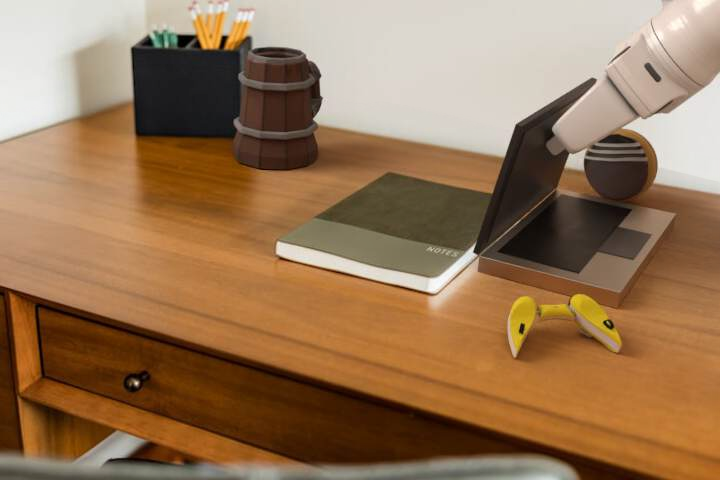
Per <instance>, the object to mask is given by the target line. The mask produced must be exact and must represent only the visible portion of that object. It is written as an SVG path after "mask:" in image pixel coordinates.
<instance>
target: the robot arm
mask: <svg viewBox="0 0 720 480" xmlns="http://www.w3.org/2000/svg"><path fill="white" fill-rule="evenodd" d="M660 1H661V3H662V7H661V11H659V13H657V14H655V15H654V16H653V17H651V18H650V19H649V20H647V21H646V22H645V23H644V24H642V25H641V26H640V27H638V28H637V29H636V30H635V31H634V32H632V33H631V34H630V35H629V36H627V37H626V38H625V39H624V40H622V41H621V42H620V43H618V44H617V45H616V46H615V49H614V55H613V57H612V59H611V61H610V62H609V63H607V65H606V66H605V67H604V72H605V73H604V74H603V75H602V76H601V77H600V78H599V79H598V80H597V81H596V84H595V85H593V86H592V87H591V88H590V89H589V90H588V91H587V92H586V93H585V94H584V95H583V96H582V97H581V98H580V99H579V100H578V101H577V102H576V103H575V104H574V105H573V106H572V107H571V108H570V109H569V110H568V111H566V112H565V113H564V114H563V116H562V117H561V118H560V119H559V120H558V121H557V122H556V123H555V124H554V126H553V128H552V131H553V133H554V134H555V136H554V137H553V138H551V139H550V140H549V141H548V142H547V143H546V147H547V148H548V150H549V151H550V152H551V154H553V155H557V154H559V153H560V152H562V151H563V150H564V149H566V150H567V151H568V152H569V153H570V154H571V155H574V154H575V155H576V154H577V153H580V152H583V151H584V150H587V148H588V147H590V146H592V145H593V144H595V143H597V142H598V141H600V140H602V139H604V138H605V137H607V136H609V135H610V134H612V133H614V132H615V131H617V130H619V129H621V128H622V129H623V128H624V127H625V126H628V125H629V124H630V123H631V124H632V123H633V122H634V121H636V120H638V119H640V118H641V119H642V120H647V119H648V118H651V117H653V116H655V115H658V114H659V115H660V114H665V115H666V114H667V115H668V114H670V113H672V112H673V111H674V110H676V109H677V108H678V107H679V106H681V105H682V104H684V103H685V102H687V101H688V100H689V99H691V98H692V97H694V96H695V95H697V94H698V93H700V92H701V91H703V90H704V89H705V88H706V87H708V86H709V85H710V84H711V83H712V82H713V81H714V80H715V78H717V76H718V75H719V74H720V0H660ZM570 154H569V155H570Z"/></svg>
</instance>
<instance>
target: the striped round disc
mask: <svg viewBox="0 0 720 480" xmlns="http://www.w3.org/2000/svg"><path fill="white" fill-rule="evenodd" d="M658 163H659V162H658V157H657V153H656V151H655V149H654V147H653V145H652V143H651V142H650V141H649V140H648V139H647V138H646V137H645V136H644V135H643V134H642V133H640V132H637V131H635V130H633V129H628V128H623V127H622V128H621V129H619V130H617V131H615V132H614V133H612V134H610V135H609V136H607V137H605V138H604V139H602V140H600V141H598V142H597V143H595V144H593V145H592V146H590V147H588V148H586V149H585V153H584V156H583V172H584V175H585V178H586V180H587V183H588V184H589V186H590V187H591V189H592V190H593V191H594V192H595V193H596V194H598V195H599V196H600V197H601V198H605V199H610V200H614V201H619V202H624V203H626V202H630V201H633V200H636V199H637V198H639V197H640V196H642V195H643V194H644V193H645V192H647V191H648V190H649V189H650V188H651V187H652V185H653V184H654V182H655V180H656V177H657V174H658V170H659V169H658V168H659V164H658Z"/></svg>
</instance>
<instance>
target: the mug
mask: <svg viewBox="0 0 720 480" xmlns="http://www.w3.org/2000/svg"><path fill="white" fill-rule="evenodd" d="M244 62H245V63H244V70H243V71H241V72H239V73H238V76H237V79H238V81H239V82H240V83H241V84H242V92H241V99H240V100H241V101H240V108H239V116H237V117H236V118H234V119H233V126H234V127H235V129H236V133H235V136H234V138H233V140H232V155H233V156H234V159H236V162H238V163H239V164H243V165H246V166H250V167H253V168H256V169H260V170H262V169H263V170H278V171H279V170H280V171H281V170H283V171H287V170H291V169H292V170H293V169H297V168H302V167H303V168H304V167H309V166H310V165H311V164H313V162H315V160H317V159H318V158H319V157H318V155H319V153H318V152H319V144H318V142H317V139H316V136H315V133H314V132H316V131H317V130H318V128H319V124H318V123H317V121H316V120H315V117H316V116H317V115H318V113H319V112H320V110H321V107H322V103H323V100H324V97H323V96H322V95H321V78H322V73H321V70H320V69H319V67H318V66H317V64H316V63H315V62H314V61H313V60H309V59H308V58H307V54H306V52H304V51H302V50H301V49H298V48H297V49H296V48H293V47H286V46H262V47H254V48H253V49H250V50H249V51H247V55H246V56H245V61H244Z"/></svg>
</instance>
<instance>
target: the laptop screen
mask: <svg viewBox="0 0 720 480" xmlns="http://www.w3.org/2000/svg"><path fill="white" fill-rule="evenodd" d="M597 82H598V79H597V78H595V77H590V78H588V79H587V80H585V81H584V82H582V83H580V84H578V85H577V86H575V87H573V88H572V89H570V90H569V91H567V92H566V93H564V94H563V95H561V96H558V97H557V98H556V99H554V100H553V101H551V102H550V103H548V104H546V105H545V106H542V107H541V108H540V109H538V110H537V111H535V112H533V113H532V114H530V115H528V116H526V117H524V118H523V119H521V120H520V121H518V122H517V123H515V125H514V128H513V131H512V135H511V137H510V140H509V143H508V146H507V148H506V152H505V155H504V158H503V161H502V164H501V167H500V170H499V173H498V175H497V178H496V182H495V184H494V188H493V191H492V194H491V197H490V200H489V202H488V206H487V209H486V212H485V214H484V218H483V220H482V223H481V226H480V229H479V233H478V236H477V239H476V240H475V241H476V242H475V244H474V246H473V247H474V248H473V251H472V253H473V254H474V255H477V256H480V255H481V254H482V253H484V252H485V251H486V250H487V249H488V248H489V247H490V246H492V245H493V244H494V243H495V242H496V241H497V240H499V239H500V238H501V237H502V236H503V235H504V234H505V233H507V232H508V231H509V230H510V229H511V228H512V227H514V226H515V225H516V224H517V223H518V222H519V221H520V220H522V219H523V218H524V217H525V216H526V215H527V214H529V213H530V212H531V211H532V210H533V209H534V208H535V207H537V206H538V205H539V204H540V203H541V202H542V201H544V200H545V199H546V198H547V197H548V196H549V195H551V194H552V193H553V192H554V191H555V190H556V189H557V188H558V186H559V183H560V181H561V178H562V176H563V175H562V174H563V172H564V170H565V167H566V164H567V161H568V159H569V156H570V153H569V152H568V151H567V150H566V149H564V150H563V151H562V152H560V153H559V154H557V155H553V154H551V152H550V151H549V150H548V148H547V147H546V143H547V142H548V141H549V140H550V139H551V138H553V137H554V136H555V134H554V133H553V131H552V128H553V126H554V124H555V123H556V122H557V121H558V120H559V119H560V118H561V117H562V116H563V114H564V113H565V112H566V111H568V110H569V109H570V108H571V107H572V106H573V105H574V104H575V103H576V102H577V101H578V100H579V99H580V98H581V97H582V96H583V95H584V94H585V93H586V92H587V91H588V90H589V89H590V88H591V87H592V86H593V85H595V84H596V83H597Z"/></svg>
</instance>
